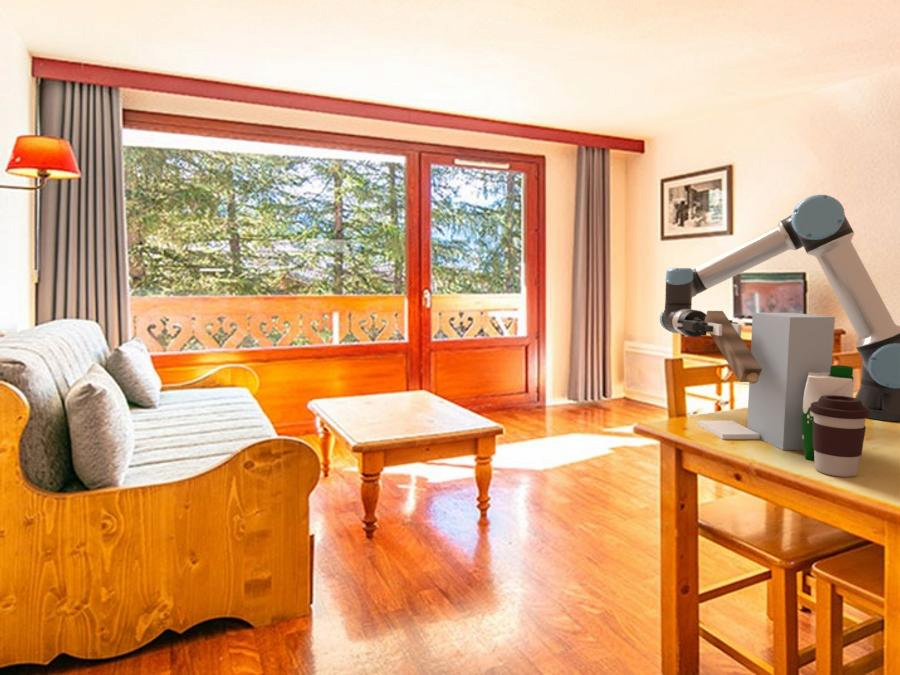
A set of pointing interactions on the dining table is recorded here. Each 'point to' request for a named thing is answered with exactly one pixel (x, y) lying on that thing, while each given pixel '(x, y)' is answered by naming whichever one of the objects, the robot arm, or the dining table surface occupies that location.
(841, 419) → the coffee cup
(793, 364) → the stand
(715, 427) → the plate
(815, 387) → the milk carton
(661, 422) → the dining table surface
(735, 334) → the pepper mill
